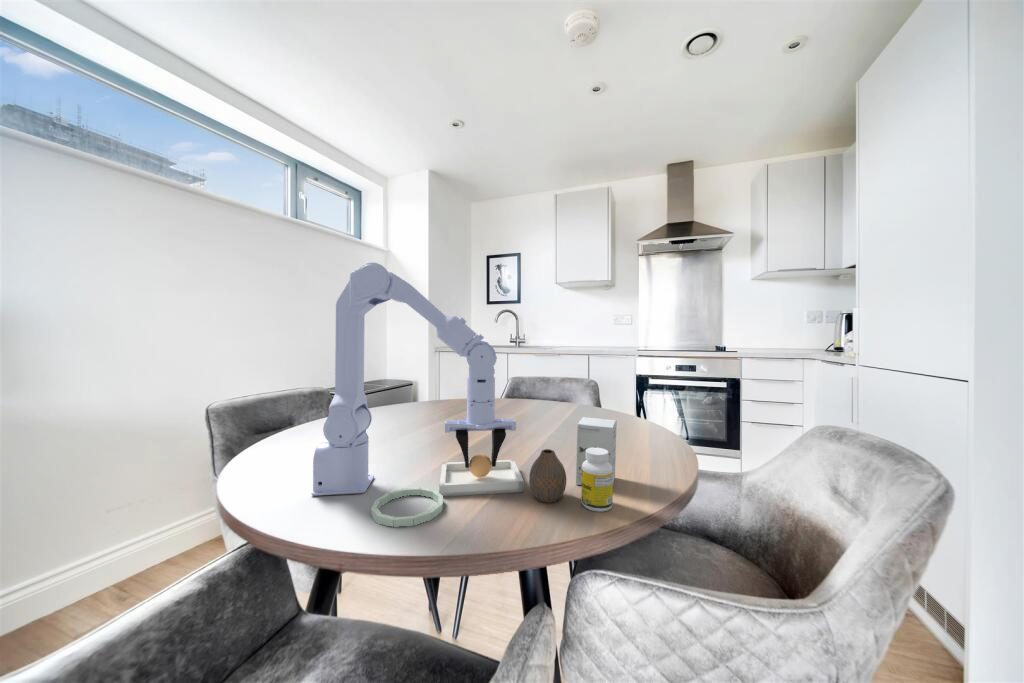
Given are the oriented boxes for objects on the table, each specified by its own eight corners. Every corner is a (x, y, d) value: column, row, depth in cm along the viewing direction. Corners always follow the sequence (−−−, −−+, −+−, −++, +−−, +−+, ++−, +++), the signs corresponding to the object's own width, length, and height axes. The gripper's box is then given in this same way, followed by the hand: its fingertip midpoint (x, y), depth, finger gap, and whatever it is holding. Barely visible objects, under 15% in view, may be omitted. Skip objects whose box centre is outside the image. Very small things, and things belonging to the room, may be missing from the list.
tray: (439, 496, 65) (439, 485, 65) (442, 472, 77) (442, 462, 77) (523, 491, 68) (523, 481, 68) (513, 468, 80) (513, 459, 80)
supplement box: (574, 485, 71) (575, 423, 71) (581, 472, 78) (582, 415, 78) (612, 491, 68) (613, 427, 68) (616, 477, 75) (617, 419, 75)
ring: (364, 529, 54) (364, 521, 54) (380, 495, 66) (380, 489, 66) (441, 524, 56) (441, 516, 56) (444, 492, 67) (444, 486, 67)
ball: (469, 481, 70) (469, 458, 70) (468, 472, 74) (468, 451, 74) (492, 480, 71) (492, 457, 71) (490, 471, 75) (490, 450, 75)
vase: (565, 490, 69) (565, 446, 69) (567, 507, 62) (567, 458, 62) (529, 489, 69) (530, 444, 69) (528, 505, 62) (528, 456, 62)
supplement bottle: (577, 498, 65) (578, 446, 65) (606, 497, 66) (606, 445, 66) (586, 513, 60) (586, 456, 60) (617, 512, 60) (617, 455, 60)
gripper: (444, 404, 67) (443, 474, 68) (518, 402, 70) (518, 471, 70) (445, 397, 74) (445, 461, 74) (513, 396, 77) (512, 458, 77)
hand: (480, 465), depth 73 cm, fingers open, 5 cm apart
